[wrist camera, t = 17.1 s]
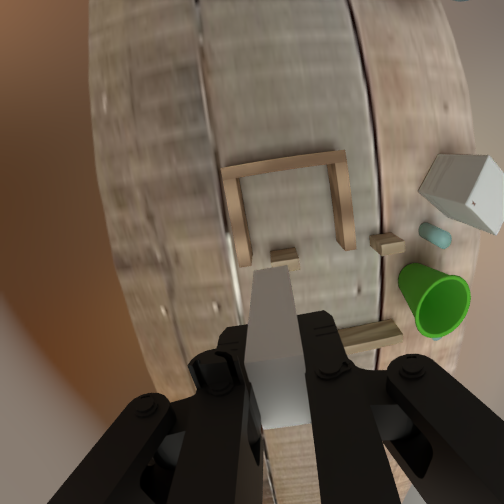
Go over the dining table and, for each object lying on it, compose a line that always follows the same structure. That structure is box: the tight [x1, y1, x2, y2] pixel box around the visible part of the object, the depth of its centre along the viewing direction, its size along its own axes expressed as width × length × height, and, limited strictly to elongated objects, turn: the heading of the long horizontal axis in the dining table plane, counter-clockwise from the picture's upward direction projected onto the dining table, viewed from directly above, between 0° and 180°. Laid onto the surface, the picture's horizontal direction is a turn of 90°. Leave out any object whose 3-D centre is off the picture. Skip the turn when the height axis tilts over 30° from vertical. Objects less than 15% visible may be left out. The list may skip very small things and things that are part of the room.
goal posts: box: [419, 223, 451, 341], centre depth 41 cm, size 17×2×6 cm, turn 10°
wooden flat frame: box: [221, 150, 405, 355], centre depth 41 cm, size 28×22×5 cm
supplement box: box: [418, 154, 504, 235], centre depth 34 cm, size 7×7×13 cm
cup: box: [398, 263, 471, 338], centre depth 39 cm, size 9×9×11 cm
